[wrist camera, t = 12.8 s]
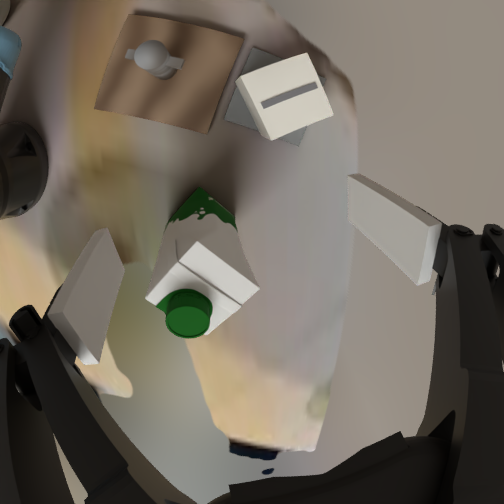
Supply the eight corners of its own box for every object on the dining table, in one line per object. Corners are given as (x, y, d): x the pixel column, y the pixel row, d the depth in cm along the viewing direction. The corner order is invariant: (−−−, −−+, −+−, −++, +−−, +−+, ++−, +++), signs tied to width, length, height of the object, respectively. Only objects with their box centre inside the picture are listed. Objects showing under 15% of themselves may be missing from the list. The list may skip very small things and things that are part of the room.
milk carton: (159, 222, 39) (132, 313, 22) (199, 176, 37) (196, 242, 20) (203, 256, 43) (208, 356, 26) (244, 215, 41) (276, 301, 24)
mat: (223, 119, 34) (223, 119, 33) (252, 48, 29) (252, 47, 29) (297, 145, 37) (298, 146, 37) (324, 79, 33) (326, 78, 32)
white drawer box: (261, 135, 35) (271, 140, 30) (234, 81, 31) (240, 76, 26) (315, 113, 35) (334, 115, 29) (291, 59, 30) (307, 52, 25)
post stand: (97, 108, 30) (57, 112, 19) (131, 17, 24) (104, -14, 14) (206, 133, 34) (207, 143, 24) (242, 41, 29) (259, 14, 18)
